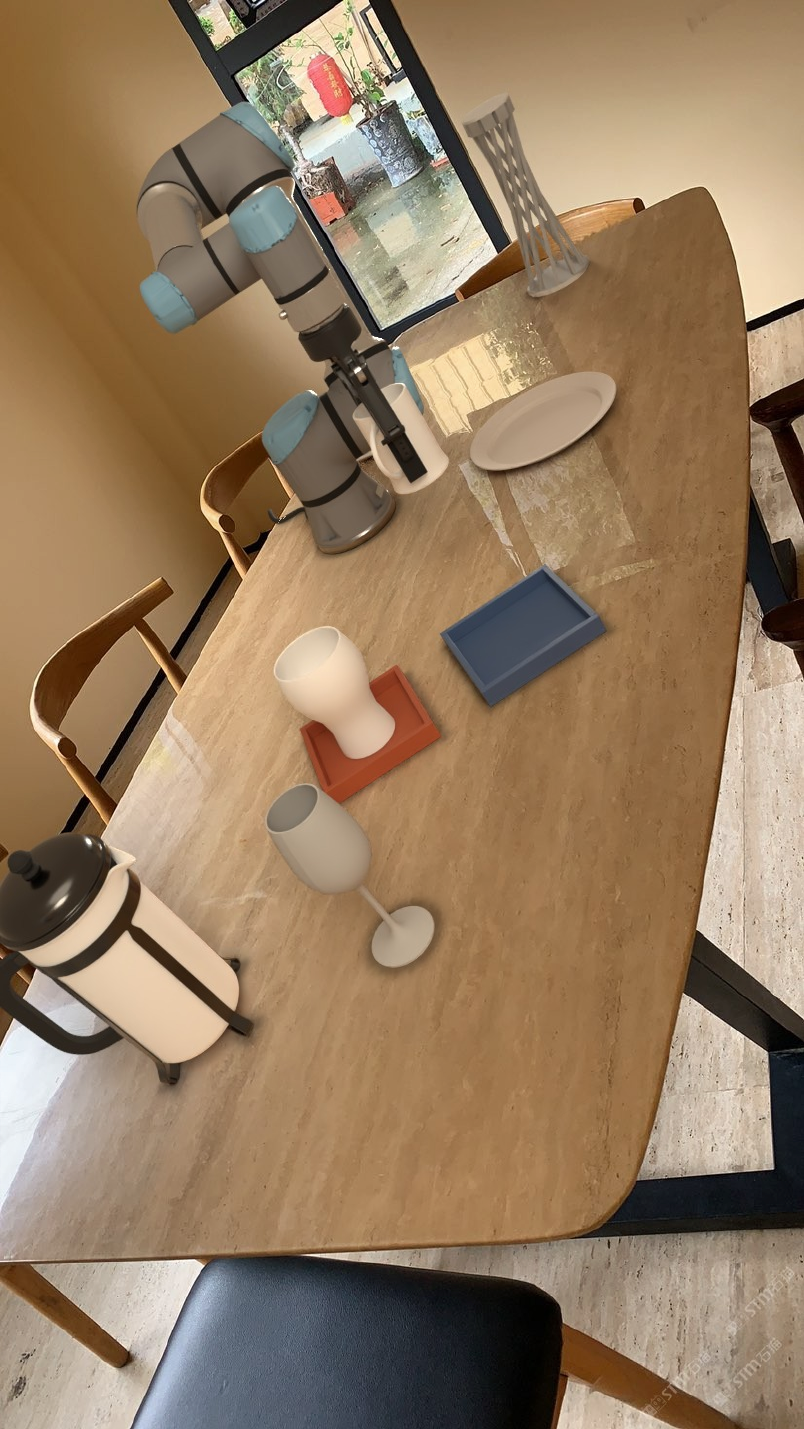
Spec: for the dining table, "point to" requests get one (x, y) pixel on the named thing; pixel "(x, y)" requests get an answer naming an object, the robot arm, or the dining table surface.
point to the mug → (415, 432)
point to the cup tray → (408, 738)
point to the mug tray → (521, 633)
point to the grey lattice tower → (524, 197)
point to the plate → (543, 421)
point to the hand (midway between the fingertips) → (408, 466)
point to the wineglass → (342, 866)
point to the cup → (334, 690)
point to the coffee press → (112, 954)
